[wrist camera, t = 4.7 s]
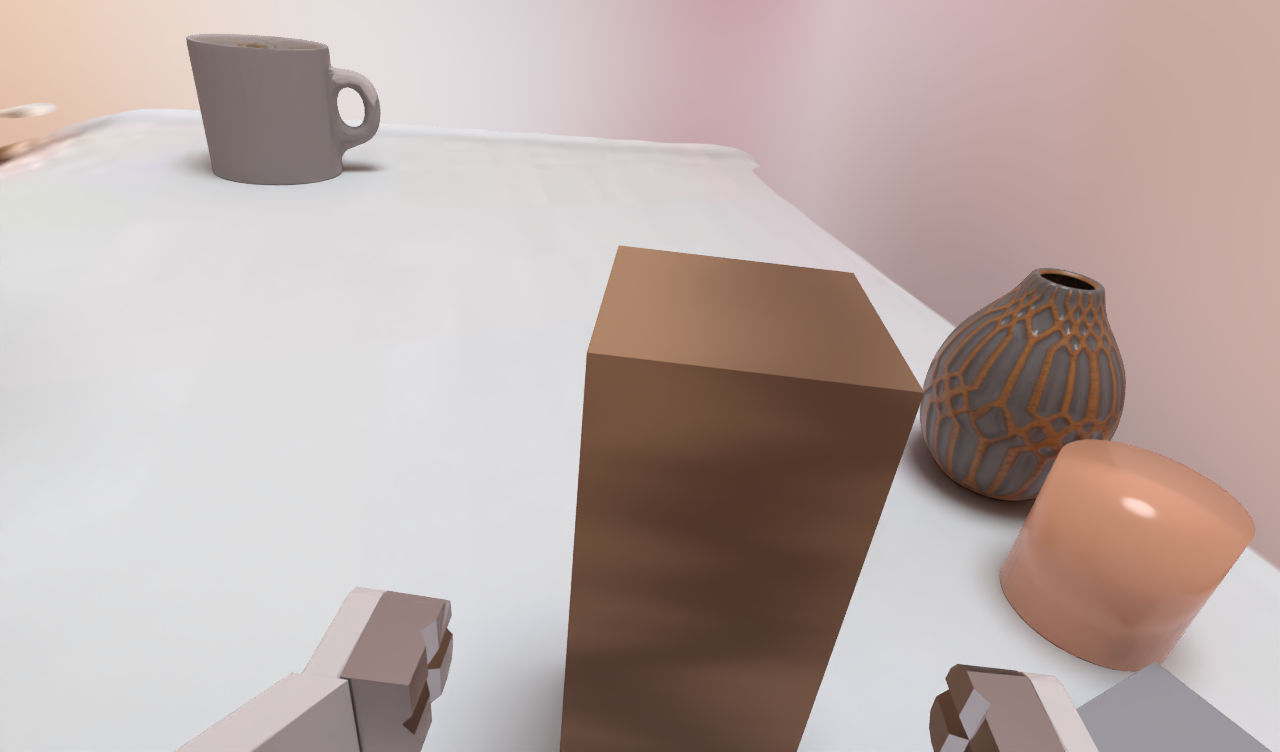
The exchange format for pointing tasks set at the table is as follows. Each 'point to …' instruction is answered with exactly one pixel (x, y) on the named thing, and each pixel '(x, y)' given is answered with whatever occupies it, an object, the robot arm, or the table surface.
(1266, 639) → the table surface
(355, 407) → the table surface
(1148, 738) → the grey pad
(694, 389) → the walnut block
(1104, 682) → the table surface
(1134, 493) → the peach rounded cylinder
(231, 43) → the coffee mug
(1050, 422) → the vase
